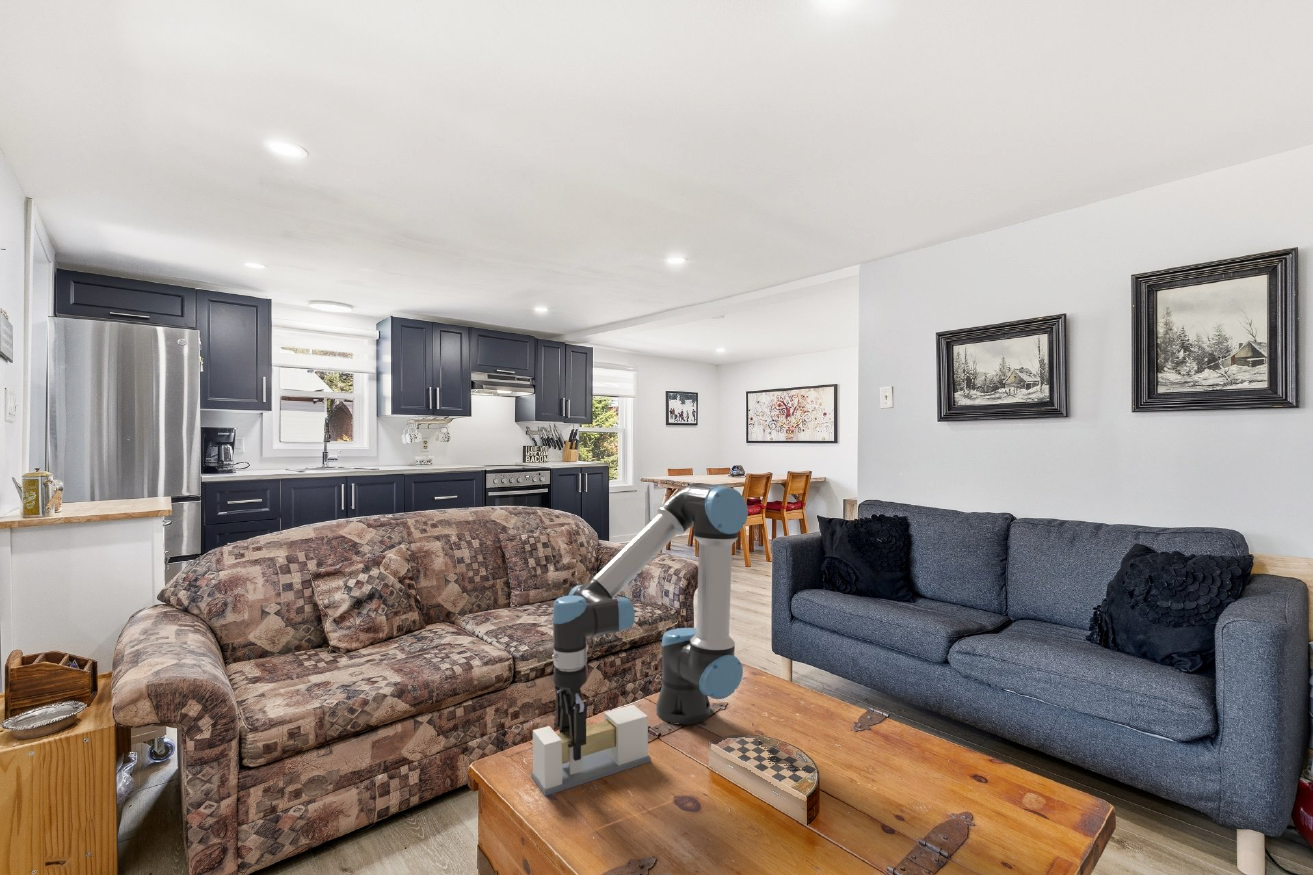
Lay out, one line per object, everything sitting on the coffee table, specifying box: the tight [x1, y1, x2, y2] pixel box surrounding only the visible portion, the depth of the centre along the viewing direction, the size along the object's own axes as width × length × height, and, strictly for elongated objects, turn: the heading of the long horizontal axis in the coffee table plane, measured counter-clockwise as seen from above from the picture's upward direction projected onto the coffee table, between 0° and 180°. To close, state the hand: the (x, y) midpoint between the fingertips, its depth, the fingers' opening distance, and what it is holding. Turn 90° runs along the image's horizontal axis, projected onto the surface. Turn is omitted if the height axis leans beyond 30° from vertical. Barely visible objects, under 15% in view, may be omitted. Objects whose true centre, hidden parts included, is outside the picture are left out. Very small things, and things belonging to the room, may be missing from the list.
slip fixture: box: [530, 704, 652, 797], centre depth 143 cm, size 26×9×11 cm, turn 121°
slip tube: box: [556, 720, 616, 763], centre depth 142 cm, size 18×4×4 cm, turn 121°
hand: (571, 766), depth 140 cm, fingers closed on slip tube, 4 cm apart
